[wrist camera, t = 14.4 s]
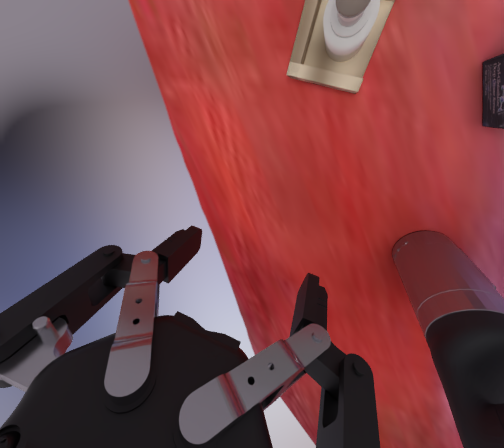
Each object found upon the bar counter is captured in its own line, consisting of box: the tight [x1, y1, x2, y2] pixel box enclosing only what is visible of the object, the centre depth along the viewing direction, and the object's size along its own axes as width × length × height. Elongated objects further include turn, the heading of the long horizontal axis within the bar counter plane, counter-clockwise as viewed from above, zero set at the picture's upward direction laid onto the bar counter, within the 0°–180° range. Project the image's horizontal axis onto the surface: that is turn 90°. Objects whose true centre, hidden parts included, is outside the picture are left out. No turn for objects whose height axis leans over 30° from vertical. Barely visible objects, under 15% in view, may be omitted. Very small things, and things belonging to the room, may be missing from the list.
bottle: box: [323, 0, 380, 62], centre depth 22 cm, size 5×5×14 cm
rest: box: [287, 0, 395, 94], centre depth 27 cm, size 10×11×4 cm
